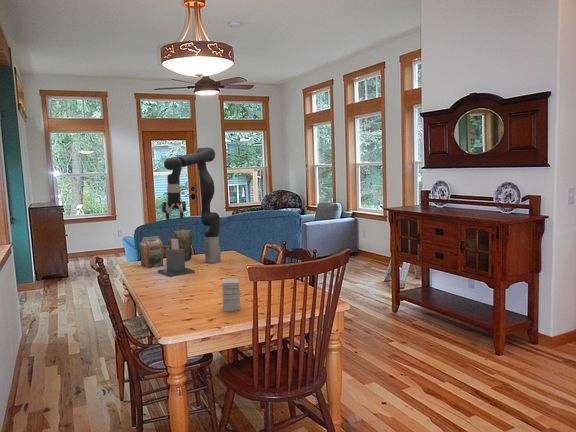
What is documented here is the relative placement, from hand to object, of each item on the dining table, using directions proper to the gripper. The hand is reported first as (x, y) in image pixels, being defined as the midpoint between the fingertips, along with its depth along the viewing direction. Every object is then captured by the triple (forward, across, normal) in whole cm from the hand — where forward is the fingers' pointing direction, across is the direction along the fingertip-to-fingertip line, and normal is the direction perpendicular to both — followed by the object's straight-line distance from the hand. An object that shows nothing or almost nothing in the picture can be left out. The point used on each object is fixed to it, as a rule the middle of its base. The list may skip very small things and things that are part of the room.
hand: (174, 219), depth 285 cm
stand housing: (+32, 0, 0) cm, 32 cm away
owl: (+32, -22, -36) cm, 53 cm away
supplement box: (+33, +16, +87) cm, 94 cm away
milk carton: (+32, +2, -30) cm, 44 cm away
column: (+30, 0, 0) cm, 30 cm away
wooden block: (+32, -8, -16) cm, 37 cm away
